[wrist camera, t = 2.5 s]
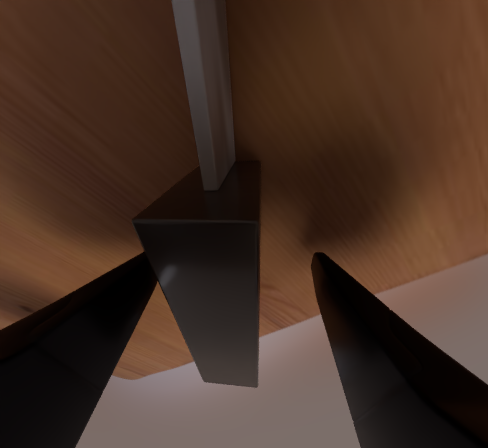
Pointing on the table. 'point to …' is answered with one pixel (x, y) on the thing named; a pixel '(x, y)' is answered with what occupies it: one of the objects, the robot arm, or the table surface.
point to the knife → (210, 215)
